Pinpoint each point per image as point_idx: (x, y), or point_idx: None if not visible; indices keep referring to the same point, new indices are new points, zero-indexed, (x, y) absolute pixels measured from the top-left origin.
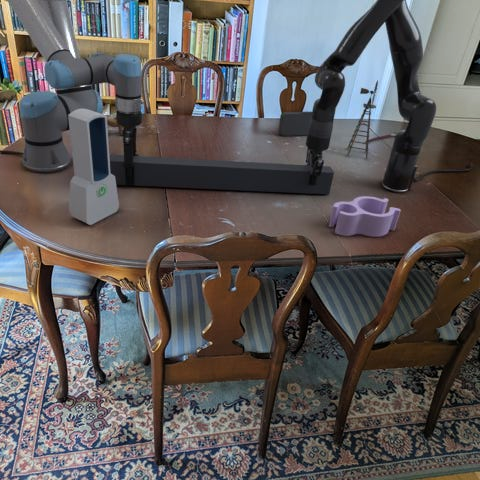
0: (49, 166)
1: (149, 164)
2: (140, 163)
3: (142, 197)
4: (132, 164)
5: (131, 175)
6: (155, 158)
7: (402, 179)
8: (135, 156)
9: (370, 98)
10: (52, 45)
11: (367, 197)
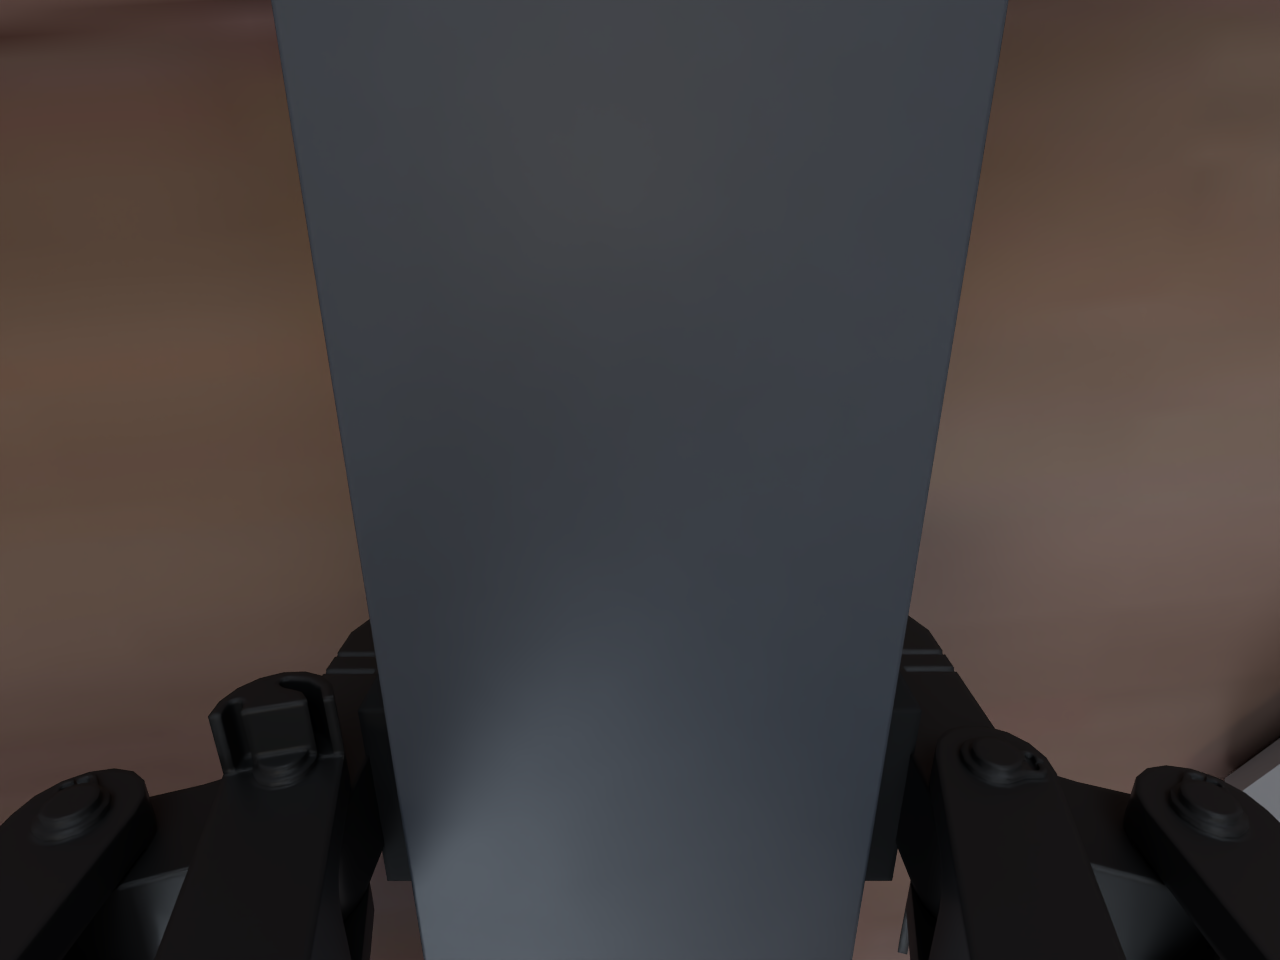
0: None
1: (942, 292)
2: (900, 595)
3: (1073, 331)
4: (1230, 844)
5: (929, 634)
6: (438, 60)
7: None
8: (433, 779)
9: None
10: None
11: None
